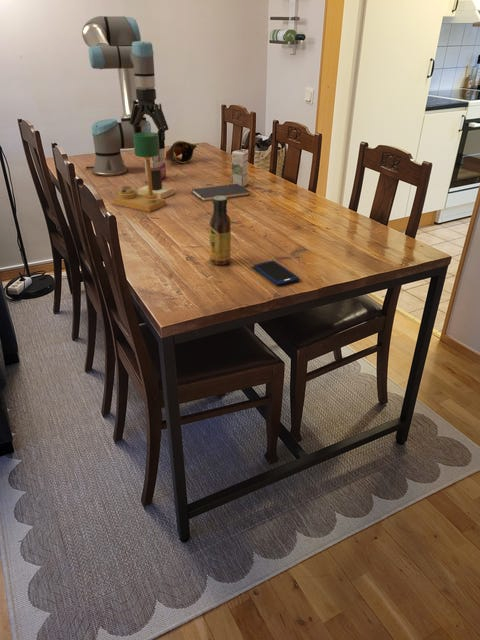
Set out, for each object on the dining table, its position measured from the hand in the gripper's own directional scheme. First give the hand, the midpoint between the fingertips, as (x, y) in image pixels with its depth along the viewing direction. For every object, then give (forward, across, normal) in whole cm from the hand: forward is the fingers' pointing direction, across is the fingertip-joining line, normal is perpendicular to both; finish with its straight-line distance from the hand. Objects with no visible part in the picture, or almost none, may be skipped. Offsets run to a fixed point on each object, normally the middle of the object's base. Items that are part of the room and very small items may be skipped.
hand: (150, 146), depth 194 cm
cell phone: (+18, -86, +30) cm, 93 cm away
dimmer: (+19, -2, +1) cm, 19 cm away
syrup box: (+19, -20, -33) cm, 43 cm away
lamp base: (+19, -8, +14) cm, 25 cm away
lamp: (+15, -14, +13) cm, 24 cm away
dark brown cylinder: (+16, -2, +1) cm, 17 cm away
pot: (+20, +31, -47) cm, 60 cm away
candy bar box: (+20, +14, -14) cm, 28 cm away
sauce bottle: (+18, -68, +34) cm, 78 cm away
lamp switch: (+15, -2, +15) cm, 22 cm away
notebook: (+19, -23, -18) cm, 34 cm away
